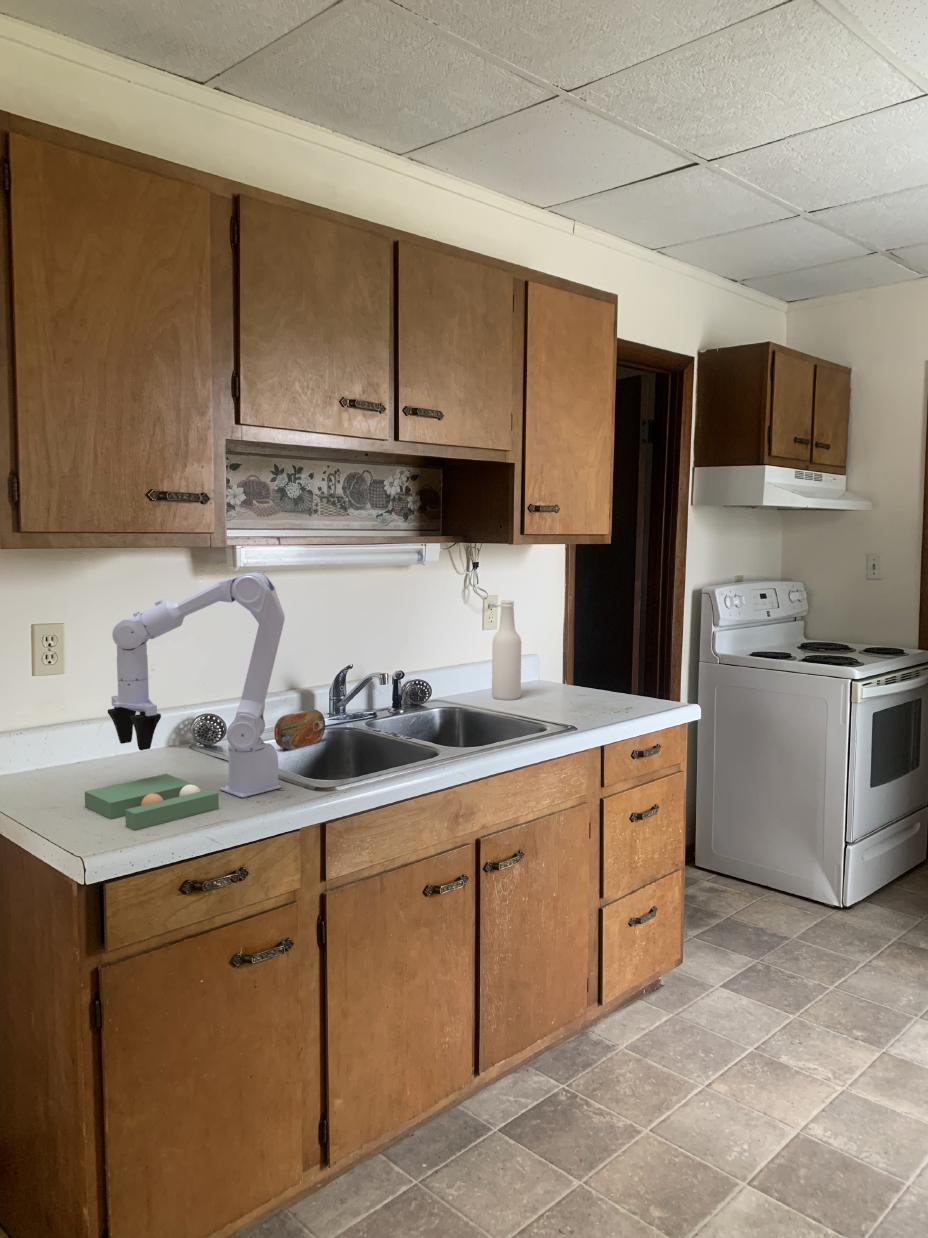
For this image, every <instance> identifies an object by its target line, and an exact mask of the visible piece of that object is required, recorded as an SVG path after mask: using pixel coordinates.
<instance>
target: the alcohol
mask: <svg viewBox="0 0 928 1238" xmlns="http://www.w3.org/2000/svg"><path fill="white" fill-rule="evenodd" d="M514 604H515V602H514V600H511V599H509V600H507V599H505V600H501V601H500V608H501V609H500V620H499V628H498V630H497V632H496V633H495V635H494V636H493V638H492V651H491V653H492V655H491V657H492V659H491V660H492V663H491V669H492V670H491V675H492V676H491V695H492V697H493V698H494V700H499V701H514V700H516V701H517V700H519V699H520V696H521V688H522V686H521V684H522V680H521V678H522V640H521V636H520V635H519V634H518V632H517V630H516V625H515V609H514V607H515V605H514Z"/></svg>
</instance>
